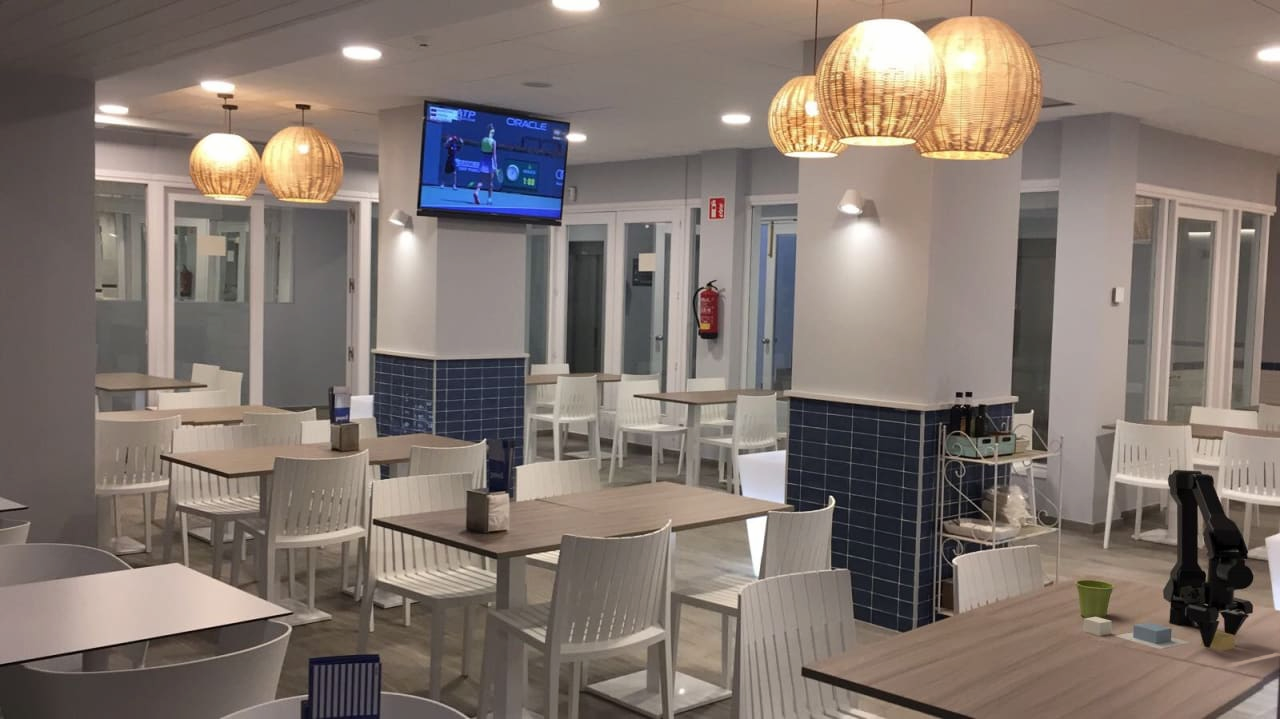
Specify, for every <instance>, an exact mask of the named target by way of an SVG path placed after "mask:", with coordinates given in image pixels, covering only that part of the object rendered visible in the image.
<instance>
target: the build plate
mask: <svg viewBox="0 0 1280 719" xmlns="http://www.w3.org/2000/svg"><path fill="white" fill-rule="evenodd" d="M1115 637H1116V638H1118V639H1119V638H1121V639H1123V640H1126V641H1129V642H1130V641H1131V642H1134V643H1137V644H1141V645H1144V646H1148V647H1150V648H1151V647H1152V648H1155V649H1159V650H1163V649H1168V648H1172V647H1177V646H1181V645H1187V644H1190V643H1191V642H1190V641H1186V640H1182V639H1178V638H1175V637H1172V636H1171V641H1168V642H1163V643H1158V644H1154V643H1151V642H1147V641H1144V640H1140V639H1137V638H1133V631H1132V632H1126V633H1122V634H1117V635H1115Z"/></svg>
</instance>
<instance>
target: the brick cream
mask: <svg viewBox="0 0 1280 719" xmlns="http://www.w3.org/2000/svg"><path fill="white" fill-rule="evenodd" d="M1112 623H1113V621H1112V620H1109V619H1105V618H1104V617H1090V618H1085V617H1084V618H1083V632H1086V633H1088V634H1092V635H1095V636H1098V637H1100V636H1105V635H1106V636H1107V635H1111V634H1112V628H1113V627H1112Z"/></svg>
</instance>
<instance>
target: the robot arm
mask: <svg viewBox="0 0 1280 719" xmlns="http://www.w3.org/2000/svg"><path fill="white" fill-rule="evenodd" d="M1167 484H1168V487H1169V493H1170V496H1171V498H1172V499H1173V501H1174V502H1175V504H1176V513H1177V514H1176V519H1177V520H1176V523H1177V524H1176V529H1177V530H1176V531H1177V532H1176V534H1177V535H1176V538H1177V539H1176V542H1177V544H1176V546H1177V547H1176V548H1177V549H1176V552H1177V553H1176V554H1177V556H1176V558H1177V559H1176V563H1175V564H1174V566H1173V568H1172V569H1171V570H1170V573H1169V579H1168V581H1167V583H1166V584H1165V585H1164V588H1163V590H1162V595H1163V600H1164V601H1165V600H1166V601H1167V602H1169V603H1170V607H1169V619H1168V623H1169V624H1172V625H1175V626H1179V627H1180V626H1181V627H1183V626H1185V627H1190V628H1193V629H1196V628H1198V630H1199V632H1200V636H1201V641H1202V640H1203V643H1204V646H1203V647H1205V648H1207V649H1208V648H1210V645H1211V643H1212V641H1213V638H1214V635H1215V632H1216V630H1217V629H1218V627H1219V624H1220V620H1218V619H1219V616H1220V615H1221V617H1222V618H1223V627H1224V628H1223V630H1224V631H1223V632H1224V633H1228V634H1232V635H1235V636H1236V635H1237V633H1238V632H1239V630H1240V629H1241V627H1242V625H1243V624H1244V623H1245V621H1246V620H1247V619H1248V618H1249V617H1250V614H1253V613H1254V605H1253V604H1252V602H1251V601H1250V600H1247V599H1243V598H1239V597H1235V591H1237V590H1245V589H1247V588H1249V587H1250V586H1251V585H1252V583H1253V582H1254V574H1253V570H1252V569H1251V568H1250V567H1249V566H1248V565H1246V560H1248V559H1249V556H1248V554H1249V550H1248V547H1247V544H1246V542H1245V539H1244V536H1243V534H1242V532H1241V530H1240V529H1239V527H1238V525H1237V524H1236V522H1235V521H1234V520H1232V519H1230V518H1229V517H1228V516H1227V515H1226V513H1225V510H1224V508H1223V507H1224V506H1223V505H1222V503H1221V499H1220V497H1219V496H1218V493H1217V490H1216V487H1215V481H1214V477H1213V475H1209V474H1208V473H1207V474H1206V473H1203V472H1201V470H1187V469H1186V470H1184V469H1174V470H1173V471H1172V473H1170V474H1169V475H1168V476H1167ZM1198 511H1200V514H1201V515H1202V519H1203V521H1204V524H1205V528H1204V531H1202V532H1203V533H1202V535H1203V542H1204V545H1205V547H1206V550H1207V553H1206V556H1207V557H1208V563H1207V573H1206V571H1205V570H1203V569H1202V567H1201V566H1200V565H1199V542H1198V541H1199V537H1198V536H1199V535H1198V534H1199V531H1198V530H1199V525H1198V524H1199V523H1198V522H1199V520H1198V518H1199V516H1198V515H1199V514H1198V513H1199V512H1198ZM1217 631H1218V630H1217Z"/></svg>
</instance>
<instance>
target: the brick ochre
mask: <svg viewBox="0 0 1280 719" xmlns="http://www.w3.org/2000/svg"><path fill="white" fill-rule="evenodd" d="M1235 636H1236V635H1232V634H1228V633H1225V631H1220V630H1216V632H1215V635H1214V638H1213V641H1212V643H1211V645H1210V647H1209V648H1211V649H1212V650H1213V649H1214V650H1218V651H1221V652H1222V651H1223V652H1224V651H1226V650H1232V649H1235ZM1200 645H1201V646H1203V647H1205V646H1204V643H1203V640H1202V639H1201V644H1200Z"/></svg>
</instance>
